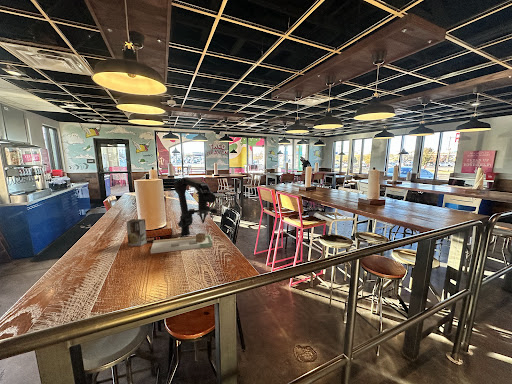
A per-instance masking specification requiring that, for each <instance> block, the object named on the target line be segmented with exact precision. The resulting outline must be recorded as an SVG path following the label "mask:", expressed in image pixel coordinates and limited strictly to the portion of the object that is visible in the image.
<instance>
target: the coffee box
mask: <svg viewBox="0 0 512 384" xmlns="http://www.w3.org/2000/svg"><path fill="white" fill-rule="evenodd" d="M146 226H147V225H146V219H145V218H143V219H142V218H133V219H129V220H128V221H127V220H126V231H127V233H126V234H127V241H128V242H127V244H128V246H133V247H134V246H137V247H138V246H139V247H142V246H144V245H145V244H146V243H147V242H148V241H147V228H146Z"/></svg>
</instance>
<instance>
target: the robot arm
mask: <svg viewBox="0 0 512 384" xmlns="http://www.w3.org/2000/svg"><path fill="white" fill-rule="evenodd" d="M188 186H190V187H193V188H194V190H195V191H197V192H196V193H195V194H196V195H197V198H198V199H197V202H198V203H197V205H198V207H197V209H195V208H189V207H188V202H187V196H186V191H187V187H188ZM173 188H174V191H175V193H176V194H177V196H178V202H179V206H180V207H179V208H180V211H181V214H180V217H179V219H180V220H179V222H178V223H177V225H178V227H179V228H181V230H180V231H181V232H180V236H187V235H190V234H191V232H190V231H191V230H190V226H192V225H193V221H194V218H193V215H194V214H197V216H199V218H200V220H201V223H202V224H205V220H206V218H207V215H209V213H211V214H217V213H218V209H217V208H216V207H210V205H208V203H210V204H211V203H215V201H216V199H217V197H216V195H215V194H214V192H212V191H211V189H210V186H209V184H208V183H206V182H203V181H202V182H201V181H196V180H194V179H192V178H190V177H187V176H186V177H182V178H180V180H178V181H176V182H175V183H174V184H173Z"/></svg>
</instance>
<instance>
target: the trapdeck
mask: <svg viewBox="0 0 512 384" xmlns="http://www.w3.org/2000/svg"><path fill="white" fill-rule="evenodd" d="M211 247H213V239H212V236H211V234H208V235H206V234H205V241H204V242H196V235H195V236H187V237H177V238H169V239H168V238H167V239H156V240H152V245H151V248H150V255H151V254H159V253H166V252H168V253H169V252H176V251H184V250H185V251H186V250H193V249H202V248H211Z"/></svg>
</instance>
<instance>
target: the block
mask: <svg viewBox="0 0 512 384" xmlns="http://www.w3.org/2000/svg"><path fill="white" fill-rule="evenodd" d="M205 235H206V233H203V232H198V233H197V234H196V235H195V236H196V242H204V241H205Z"/></svg>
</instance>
